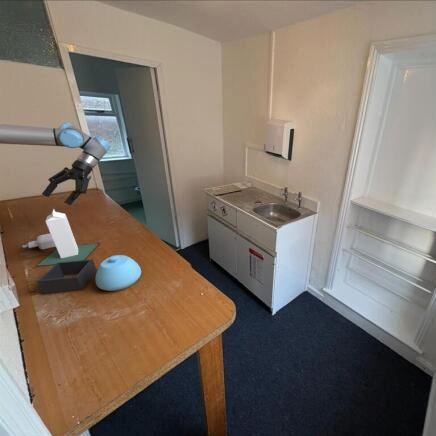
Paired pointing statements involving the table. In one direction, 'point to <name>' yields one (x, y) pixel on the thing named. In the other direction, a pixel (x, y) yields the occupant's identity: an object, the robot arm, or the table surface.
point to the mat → (55, 257)
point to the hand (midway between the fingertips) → (55, 199)
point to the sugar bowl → (117, 273)
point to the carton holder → (56, 283)
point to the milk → (62, 234)
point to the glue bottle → (42, 242)
